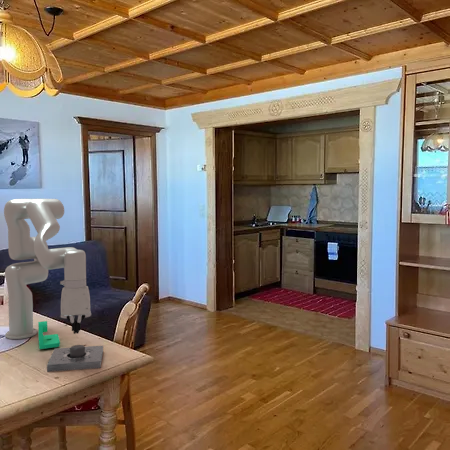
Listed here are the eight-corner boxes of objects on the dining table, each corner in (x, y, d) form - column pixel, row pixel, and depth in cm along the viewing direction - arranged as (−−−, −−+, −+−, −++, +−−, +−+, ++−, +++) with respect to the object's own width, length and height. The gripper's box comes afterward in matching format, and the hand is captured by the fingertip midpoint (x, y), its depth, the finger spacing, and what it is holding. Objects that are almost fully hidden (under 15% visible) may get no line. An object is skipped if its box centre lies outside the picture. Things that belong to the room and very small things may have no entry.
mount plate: (54, 354, 170) (54, 348, 170) (103, 351, 174) (103, 345, 174) (47, 371, 155) (47, 364, 155) (100, 367, 159) (100, 361, 158)
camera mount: (60, 349, 177) (59, 324, 176) (39, 351, 174) (38, 326, 173) (58, 339, 188) (57, 316, 187) (38, 342, 185) (38, 318, 184)
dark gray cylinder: (70, 358, 167) (70, 345, 167) (85, 357, 168) (85, 344, 168) (69, 363, 162) (68, 350, 161) (84, 362, 163) (84, 349, 163)
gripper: (52, 286, 157) (53, 337, 158) (95, 285, 160) (96, 334, 161) (55, 282, 164) (56, 330, 166) (97, 280, 167) (98, 328, 169)
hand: (76, 332), depth 163 cm, fingers closed
